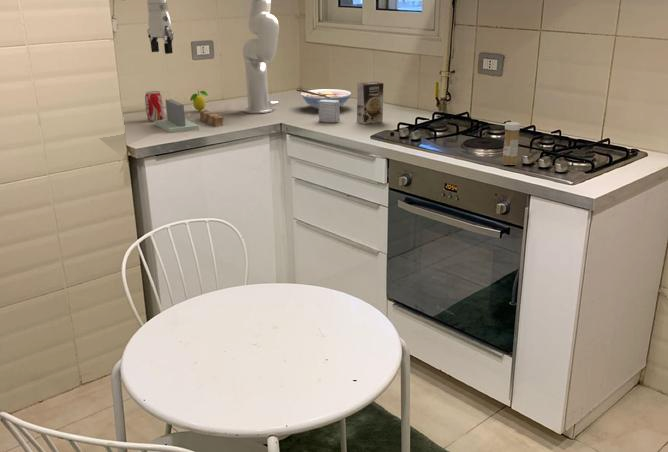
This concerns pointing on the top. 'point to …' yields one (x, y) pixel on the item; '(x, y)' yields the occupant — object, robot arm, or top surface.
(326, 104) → the medicine box
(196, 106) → the lemon
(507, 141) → the sprinkles bottle
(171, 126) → the stand
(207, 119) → the walnut bar
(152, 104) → the soda can
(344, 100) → the ramen bowl
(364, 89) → the coffee box
